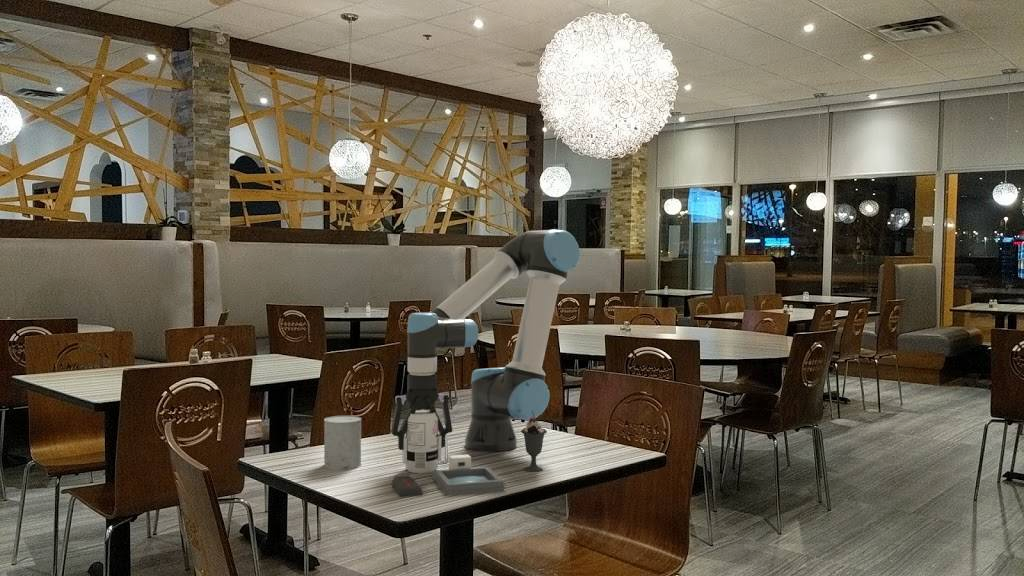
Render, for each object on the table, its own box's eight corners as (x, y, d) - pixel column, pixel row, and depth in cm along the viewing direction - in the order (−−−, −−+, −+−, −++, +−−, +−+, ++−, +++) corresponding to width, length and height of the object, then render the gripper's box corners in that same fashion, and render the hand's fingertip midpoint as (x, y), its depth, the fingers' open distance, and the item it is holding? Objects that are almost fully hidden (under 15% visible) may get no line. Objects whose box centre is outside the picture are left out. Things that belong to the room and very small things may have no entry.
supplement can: (401, 467, 211) (402, 410, 211) (432, 464, 215) (432, 408, 214) (410, 475, 204) (410, 415, 203) (441, 472, 207) (442, 413, 207)
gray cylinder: (352, 471, 207) (352, 423, 207) (317, 469, 209) (317, 421, 209) (366, 462, 217) (366, 416, 216) (333, 460, 219) (333, 414, 218)
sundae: (532, 464, 216) (533, 408, 215) (551, 469, 211) (552, 412, 210) (515, 469, 211) (515, 411, 211) (533, 474, 206) (534, 415, 206)
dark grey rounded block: (399, 500, 184) (400, 487, 184) (389, 486, 196) (389, 474, 196) (422, 497, 186) (422, 486, 186) (410, 484, 197) (410, 472, 197)
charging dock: (483, 472, 207) (484, 452, 207) (504, 491, 190) (504, 470, 190) (431, 476, 203) (431, 456, 203) (447, 496, 186) (447, 474, 186)
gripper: (458, 369, 215) (458, 455, 216) (379, 372, 209) (378, 460, 210) (465, 373, 208) (464, 461, 209) (383, 376, 202) (382, 467, 202)
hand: (421, 461), depth 209 cm, fingers closed on supplement can, 8 cm apart
